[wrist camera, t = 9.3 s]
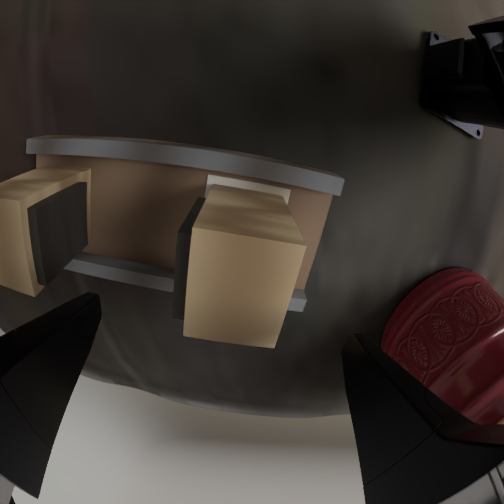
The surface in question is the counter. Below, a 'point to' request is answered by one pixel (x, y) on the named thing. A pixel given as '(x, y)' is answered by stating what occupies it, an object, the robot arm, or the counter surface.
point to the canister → (453, 342)
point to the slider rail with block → (136, 207)
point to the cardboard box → (236, 266)
